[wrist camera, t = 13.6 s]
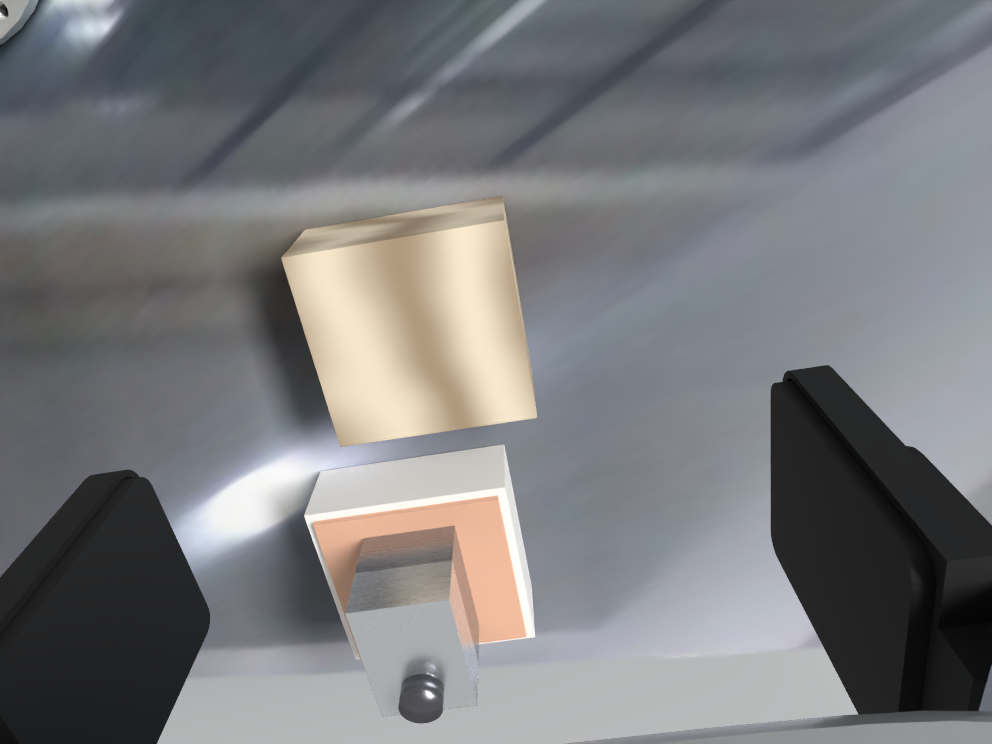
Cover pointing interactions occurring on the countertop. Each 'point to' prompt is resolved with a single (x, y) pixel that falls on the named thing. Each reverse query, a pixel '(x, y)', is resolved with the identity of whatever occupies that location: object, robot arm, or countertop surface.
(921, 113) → the countertop surface
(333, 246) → the stand
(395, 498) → the stand
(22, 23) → the robot arm
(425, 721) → the housing
